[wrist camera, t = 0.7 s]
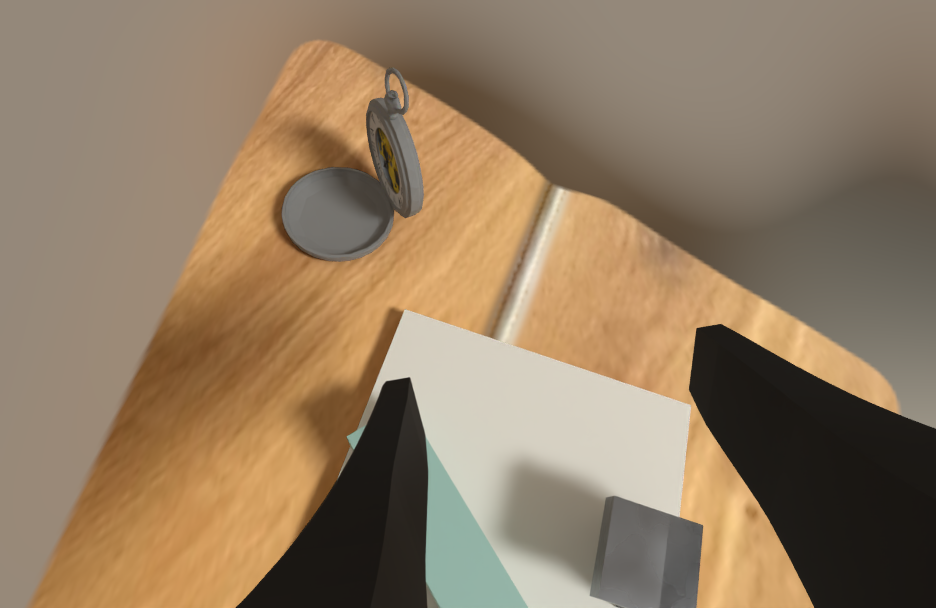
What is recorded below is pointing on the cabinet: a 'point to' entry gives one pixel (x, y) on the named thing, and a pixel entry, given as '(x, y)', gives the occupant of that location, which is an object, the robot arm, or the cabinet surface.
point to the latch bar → (458, 548)
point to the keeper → (646, 557)
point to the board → (537, 449)
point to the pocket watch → (359, 190)
